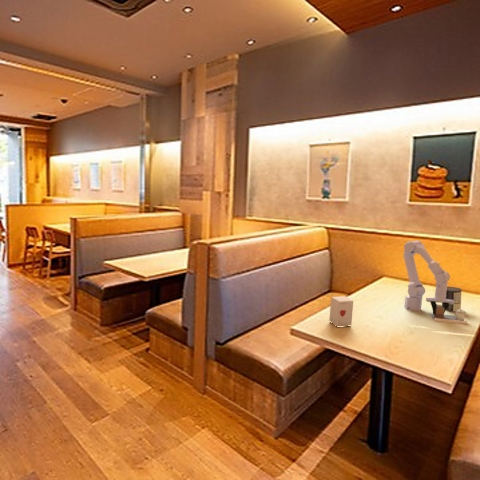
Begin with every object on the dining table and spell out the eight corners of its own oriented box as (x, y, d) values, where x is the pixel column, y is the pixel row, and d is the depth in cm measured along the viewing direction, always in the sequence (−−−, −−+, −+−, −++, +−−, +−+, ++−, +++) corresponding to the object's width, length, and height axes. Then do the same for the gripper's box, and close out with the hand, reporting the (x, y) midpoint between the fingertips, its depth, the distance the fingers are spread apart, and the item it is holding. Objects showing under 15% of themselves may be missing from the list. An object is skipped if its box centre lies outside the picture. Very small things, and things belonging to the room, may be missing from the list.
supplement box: (337, 328, 196) (339, 301, 194) (328, 322, 205) (330, 296, 203) (351, 326, 199) (353, 300, 197) (343, 321, 207) (344, 295, 205)
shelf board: (434, 322, 209) (435, 318, 209) (428, 314, 222) (428, 311, 222) (466, 325, 206) (466, 321, 206) (457, 317, 219) (458, 314, 218)
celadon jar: (456, 321, 208) (457, 310, 208) (453, 318, 213) (454, 307, 212) (465, 322, 208) (467, 311, 207) (462, 319, 212) (463, 308, 211)
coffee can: (443, 312, 227) (444, 290, 226) (440, 307, 237) (441, 286, 235) (462, 313, 224) (463, 291, 222) (458, 308, 233) (459, 287, 232)
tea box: (443, 318, 214) (444, 308, 213) (436, 317, 215) (437, 307, 214) (439, 314, 221) (440, 304, 220) (432, 313, 221) (433, 304, 221)
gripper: (429, 293, 213) (427, 315, 215) (456, 295, 210) (453, 317, 212) (426, 289, 220) (423, 311, 222) (452, 291, 217) (449, 313, 219)
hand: (438, 314), depth 217 cm, fingers closed on tea box, 4 cm apart
